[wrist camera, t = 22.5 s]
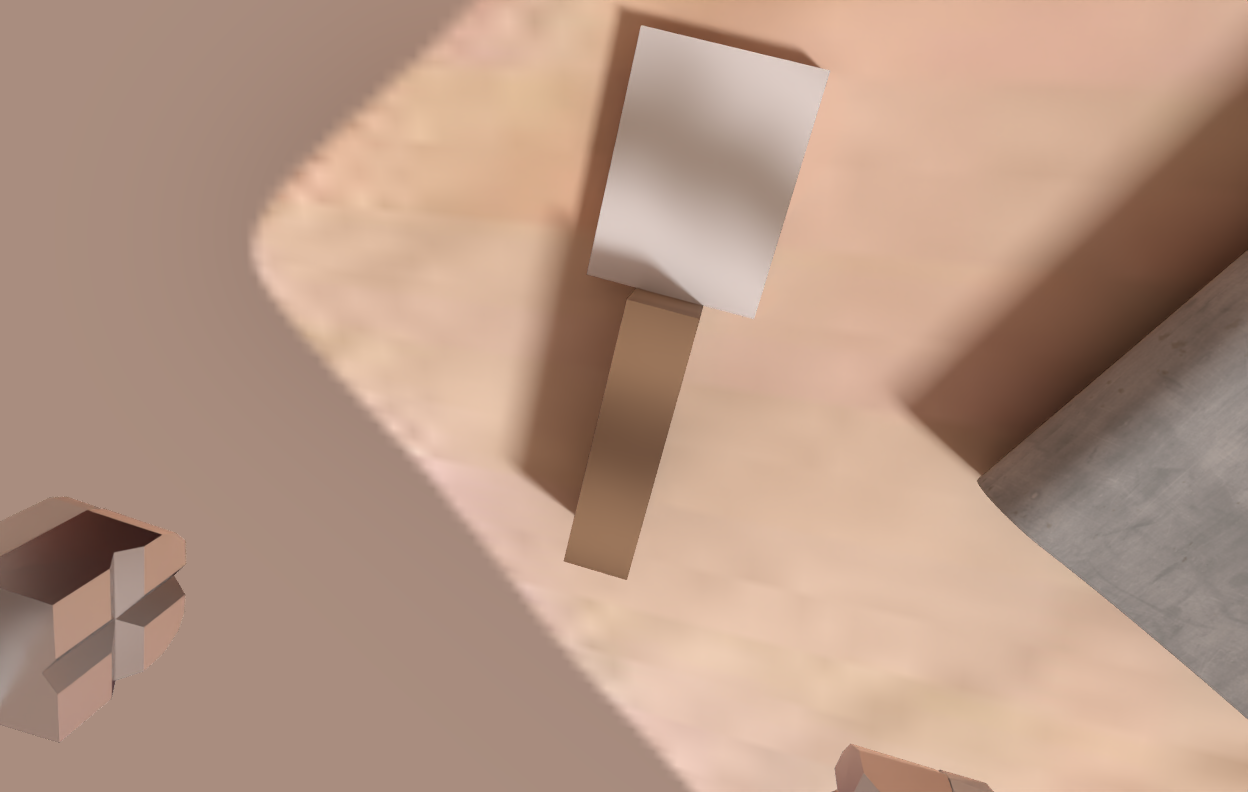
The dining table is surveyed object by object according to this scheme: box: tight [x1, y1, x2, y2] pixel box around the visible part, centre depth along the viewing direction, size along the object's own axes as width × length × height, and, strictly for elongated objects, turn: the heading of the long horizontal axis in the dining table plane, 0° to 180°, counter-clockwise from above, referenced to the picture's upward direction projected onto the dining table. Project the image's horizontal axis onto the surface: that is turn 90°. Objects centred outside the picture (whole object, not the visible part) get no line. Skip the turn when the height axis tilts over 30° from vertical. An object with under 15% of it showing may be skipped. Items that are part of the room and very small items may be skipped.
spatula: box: [564, 25, 830, 580], centre depth 25 cm, size 18×6×3 cm, turn 167°
